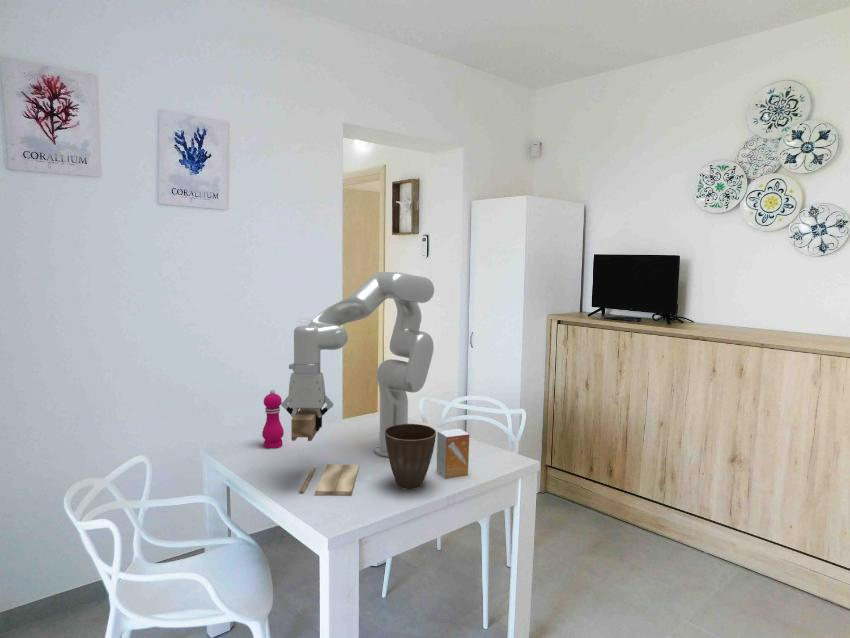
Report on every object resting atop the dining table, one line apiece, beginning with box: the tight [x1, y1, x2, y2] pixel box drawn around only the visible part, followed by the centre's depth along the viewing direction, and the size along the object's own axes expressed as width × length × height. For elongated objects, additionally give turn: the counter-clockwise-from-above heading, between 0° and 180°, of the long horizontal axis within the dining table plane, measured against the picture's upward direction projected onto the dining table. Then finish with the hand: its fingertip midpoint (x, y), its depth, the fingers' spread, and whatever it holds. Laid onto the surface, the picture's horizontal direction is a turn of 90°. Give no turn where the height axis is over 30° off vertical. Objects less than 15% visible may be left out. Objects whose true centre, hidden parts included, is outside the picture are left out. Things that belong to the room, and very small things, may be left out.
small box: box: [436, 428, 470, 479], centre depth 169 cm, size 8×6×13 cm
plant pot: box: [385, 423, 437, 490], centre depth 160 cm, size 15×15×16 cm
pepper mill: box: [261, 389, 285, 449], centre depth 191 cm, size 7×7×20 cm
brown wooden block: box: [290, 409, 318, 442], centre depth 161 cm, size 6×16×6 cm, turn 0°
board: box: [298, 463, 360, 497], centre depth 162 cm, size 15×20×1 cm
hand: (307, 429), depth 161 cm, fingers closed on brown wooden block, 5 cm apart
